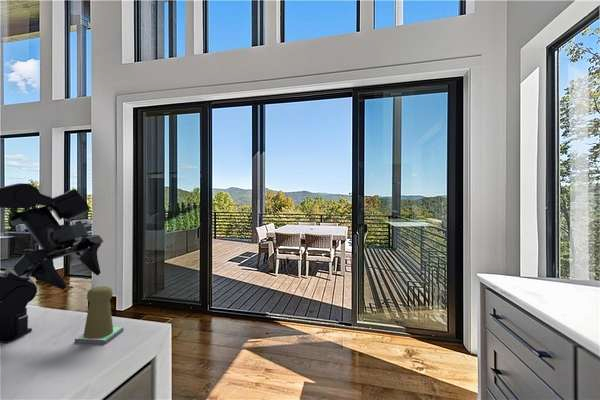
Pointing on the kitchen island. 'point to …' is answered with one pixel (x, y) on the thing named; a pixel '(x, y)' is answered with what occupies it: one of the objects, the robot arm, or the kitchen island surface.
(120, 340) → the kitchen island surface
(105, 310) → the cork
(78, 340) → the plate
